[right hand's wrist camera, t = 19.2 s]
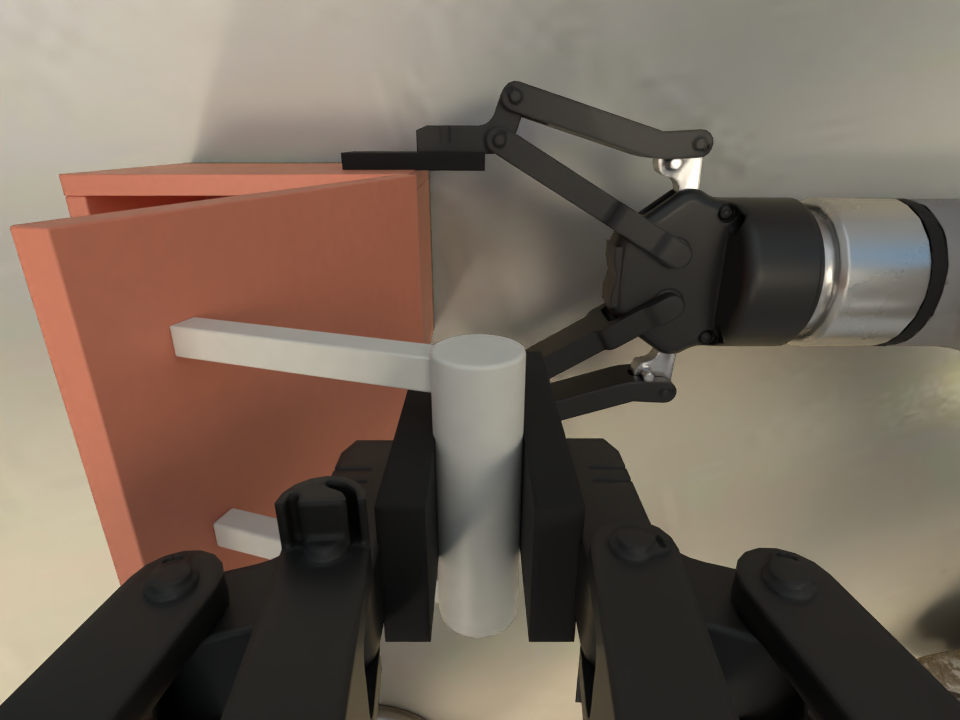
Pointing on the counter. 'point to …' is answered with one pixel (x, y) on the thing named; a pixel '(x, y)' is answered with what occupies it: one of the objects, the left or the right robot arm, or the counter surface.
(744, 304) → the left robot arm
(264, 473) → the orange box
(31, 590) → the counter surface
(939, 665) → the fossil
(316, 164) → the chest
